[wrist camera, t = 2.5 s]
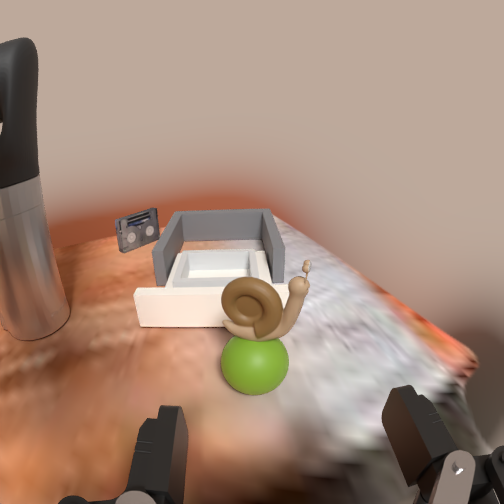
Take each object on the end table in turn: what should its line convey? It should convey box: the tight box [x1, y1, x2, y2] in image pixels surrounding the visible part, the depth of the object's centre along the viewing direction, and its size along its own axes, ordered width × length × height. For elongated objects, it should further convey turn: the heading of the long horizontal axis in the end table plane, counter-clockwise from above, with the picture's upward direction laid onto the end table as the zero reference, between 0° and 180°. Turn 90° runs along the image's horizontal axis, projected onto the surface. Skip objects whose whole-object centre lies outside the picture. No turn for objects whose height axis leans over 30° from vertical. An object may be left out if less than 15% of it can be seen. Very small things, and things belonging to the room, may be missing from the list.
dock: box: [152, 209, 285, 286], centre depth 49 cm, size 17×18×5 cm
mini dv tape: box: [115, 208, 160, 253], centre depth 53 cm, size 8×2×6 cm, turn 143°
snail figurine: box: [221, 260, 311, 395], centre depth 23 cm, size 5×6×12 cm
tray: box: [134, 249, 289, 327], centre depth 40 cm, size 17×17×4 cm
